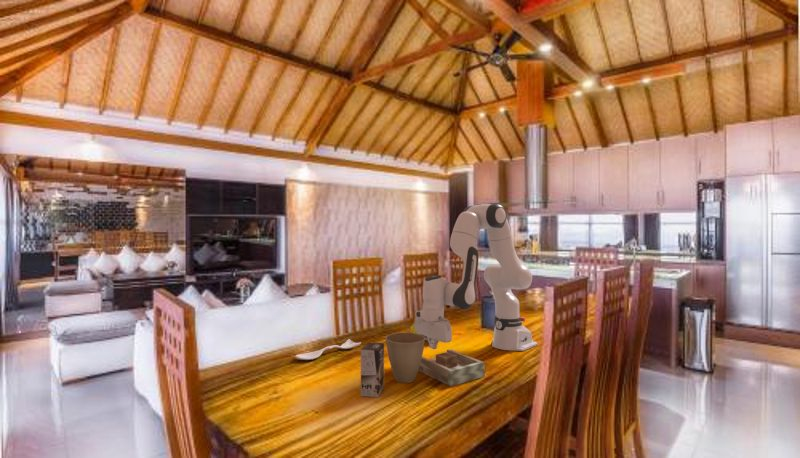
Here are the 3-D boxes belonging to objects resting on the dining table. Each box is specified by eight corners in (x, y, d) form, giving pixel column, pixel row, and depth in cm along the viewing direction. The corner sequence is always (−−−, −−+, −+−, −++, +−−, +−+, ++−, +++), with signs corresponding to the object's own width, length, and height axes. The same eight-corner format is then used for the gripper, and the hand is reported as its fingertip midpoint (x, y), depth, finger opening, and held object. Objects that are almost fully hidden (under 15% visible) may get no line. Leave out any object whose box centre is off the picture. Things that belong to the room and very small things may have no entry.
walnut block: (447, 361, 169) (447, 352, 169) (457, 366, 164) (457, 355, 164) (435, 364, 165) (435, 354, 165) (445, 369, 160) (445, 358, 160)
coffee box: (378, 397, 140) (378, 350, 140) (360, 396, 142) (359, 349, 141) (385, 387, 149) (384, 342, 149) (367, 386, 150) (367, 341, 150)
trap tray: (447, 361, 177) (447, 348, 177) (484, 376, 159) (484, 362, 159) (415, 369, 168) (415, 355, 168) (450, 386, 150) (450, 371, 150)
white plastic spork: (361, 348, 197) (361, 341, 197) (302, 365, 175) (302, 356, 175) (349, 345, 204) (349, 338, 204) (291, 360, 181) (291, 352, 181)
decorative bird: (420, 346, 199) (420, 327, 199) (400, 331, 228) (400, 314, 228) (446, 344, 204) (446, 325, 204) (423, 329, 232) (423, 312, 232)
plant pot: (397, 390, 147) (396, 345, 147) (379, 376, 160) (379, 335, 160) (432, 382, 154) (432, 339, 153) (413, 370, 167) (412, 330, 167)
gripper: (455, 318, 164) (455, 353, 164) (424, 310, 181) (424, 341, 181) (443, 320, 161) (443, 356, 161) (412, 311, 178) (412, 343, 178)
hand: (432, 348), depth 171 cm, fingers closed
